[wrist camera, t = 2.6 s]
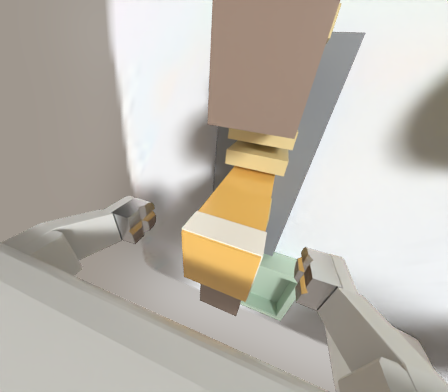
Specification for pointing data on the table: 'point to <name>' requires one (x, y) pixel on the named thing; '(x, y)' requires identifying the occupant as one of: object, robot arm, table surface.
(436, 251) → the table surface
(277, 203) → the holder
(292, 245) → the table surface
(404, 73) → the table surface
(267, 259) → the tray
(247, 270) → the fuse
